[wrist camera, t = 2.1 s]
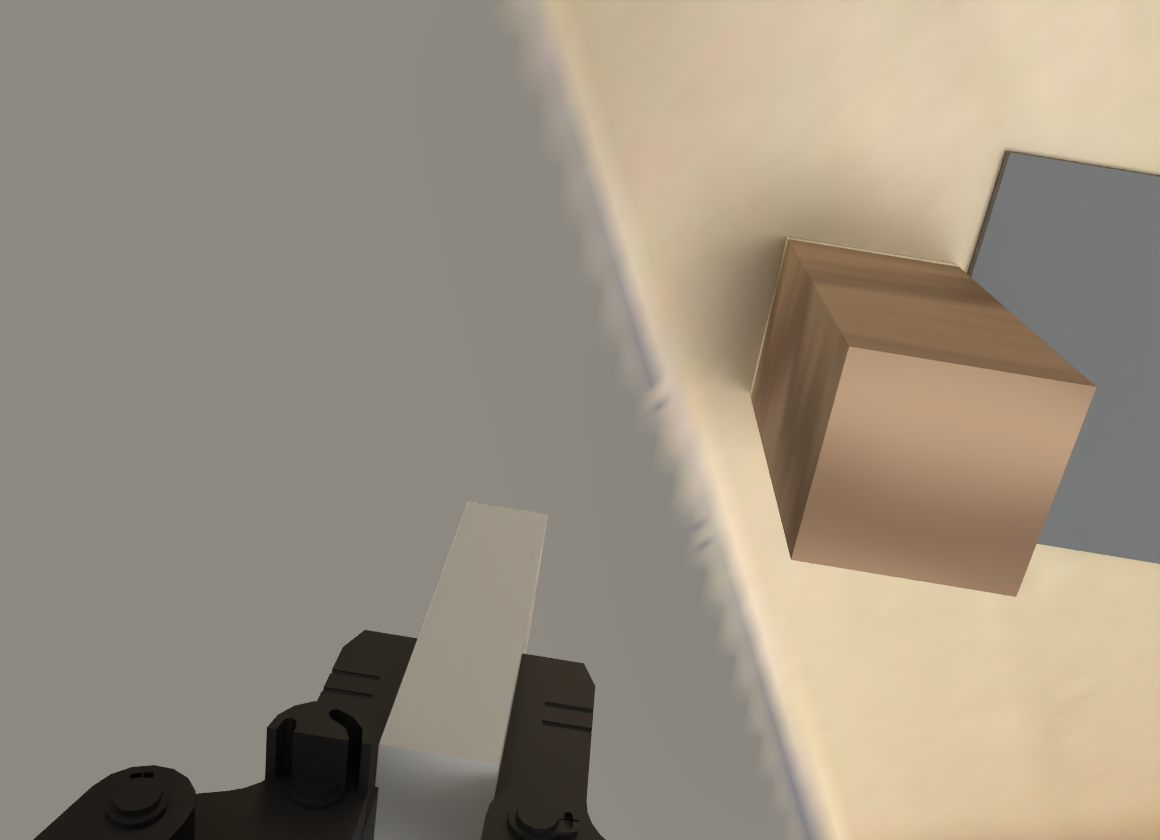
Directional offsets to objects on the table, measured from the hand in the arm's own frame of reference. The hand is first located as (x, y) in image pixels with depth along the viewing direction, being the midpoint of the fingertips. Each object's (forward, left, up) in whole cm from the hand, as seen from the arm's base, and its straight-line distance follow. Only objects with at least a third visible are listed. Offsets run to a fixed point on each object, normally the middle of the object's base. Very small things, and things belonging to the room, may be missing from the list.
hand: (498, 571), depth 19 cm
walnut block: (0, +10, -19) cm, 22 cm away
